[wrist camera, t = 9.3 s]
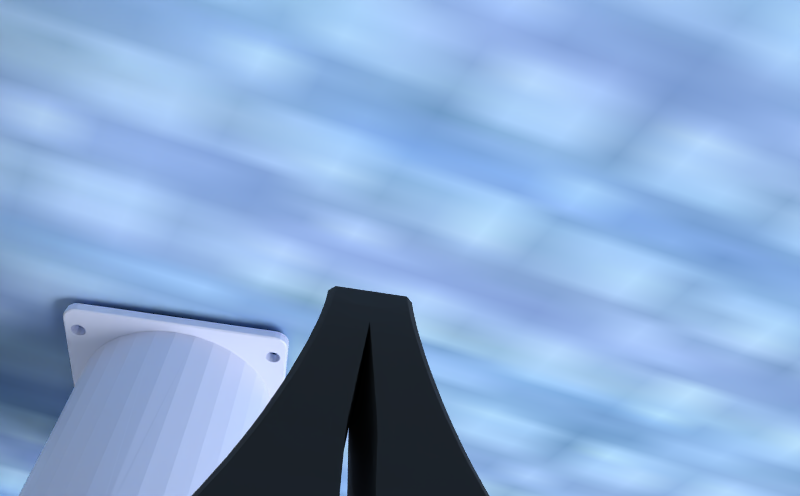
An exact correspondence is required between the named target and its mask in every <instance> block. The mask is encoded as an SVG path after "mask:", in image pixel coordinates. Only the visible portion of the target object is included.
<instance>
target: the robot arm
mask: <svg viewBox="0 0 800 496" xmlns="http://www.w3.org/2000/svg"><path fill="white" fill-rule="evenodd" d="M63 321H64V327H65V333H66V339H67V345H68V351H69V358H70V364H71V370H72V376H73V382H74V389H73V391H72V393H71V395H70V397H69V399H68V401H67V403H66V405H65V407H64V409H63V410H62V412H61V414H60V416H59V418H58V420H57V422H56V424H55V426H54V428H53V430H52V432H51V434H50V436H49V438H48V440H47V442H46V444H45V446H44V447H43V449H42V451H41V453H40V455H39V457H38V459H37V461H36V463H35V465H34V467H33V469H32V471H31V473H30V475H29V477H28V479H27V481H26V483H25V484H24V486H23V488H22V490H21V492H20V494H19V496H339V495H340V483H341V473H342V462H343V452H344V447H345V442H346V438H347V433H348V428H349V440H348V490H347V496H489V495H488V493H487V491H486V489H485V488H484V486H483V484H482V482H481V480H480V479H479V477H478V475H477V473H476V471H475V470H474V468H473V466H472V464H471V462H470V460H469V458H468V456H467V454H466V452H465V450H464V448H463V446H462V444H461V442H460V440H459V438H458V435H457V433H456V431H455V429H454V427H453V425H452V423H451V420H450V418H449V416H448V414H447V411H446V409H445V406H444V404H443V402H442V399H441V397H440V394H439V391H438V389H437V386H436V384H435V381H434V379H433V376H432V373H431V371H430V368H429V365H428V362H427V359H426V356H425V353H424V350H423V347H422V343H421V340H420V337H419V333H418V330H417V326H416V322H415V317H414V313H413V307H412V302H411V301H410V300H409V299H408V298H407V297H405V296H399V295H392V294H385V293H379V292H372V291H365V290H358V289H352V288H345V287H338V286H335V287H333V288H332V289H330V290H328V294H327V298H326V301H325V304H324V307H323V309H322V312H321V314H320V317H319V319H318V321H317V323H316V325H315V327H314V329H313V331H312V333H311V335H310V337H309V339H308V341H307V343H306V344H305V346H304V348H303V350H302V351H301V353H300V355H299V356H298V358H297V360H296V361H295V363H294V365H293V367H292V368H291V370H290V372H289V373H288V375H287V376H286V378H285V375H286V366H287V357H288V347H289V340H288V338H287V337H286V336H285V335H284V334H282V333H280V332H276V331H270V330H263V329H256V328H249V327H242V326H235V325H228V324H221V323H214V322H207V321H200V320H193V319H186V318H179V317H172V316H165V315H158V314H151V313H144V312H137V311H129V310H122V309H115V308H108V307H101V306H94V305H87V304H80V303H73V304H70V305H69V306H68V307H67V308H66V310H65V312H64V313H63ZM78 325H79V326H82V327H83V328H82V327H79V326H78ZM270 352H274V353H277V354H276V355H274V354H271V353H270Z"/></svg>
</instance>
